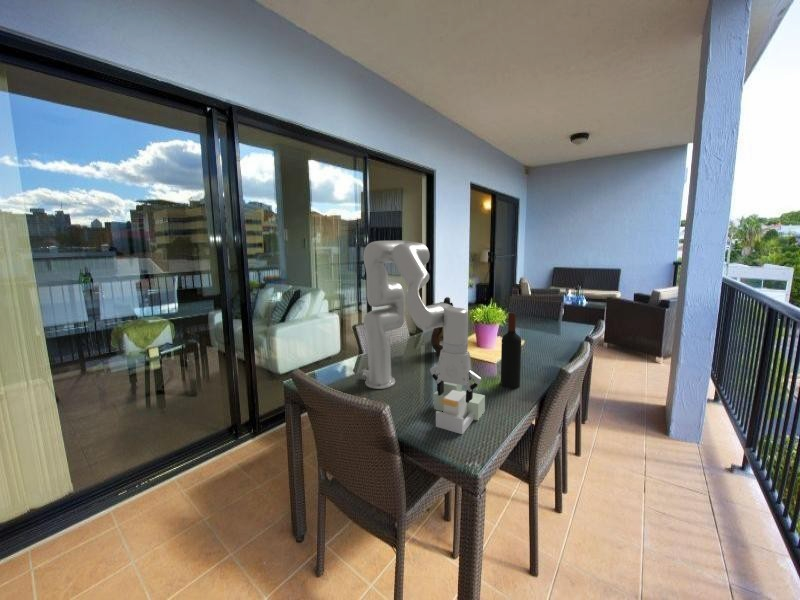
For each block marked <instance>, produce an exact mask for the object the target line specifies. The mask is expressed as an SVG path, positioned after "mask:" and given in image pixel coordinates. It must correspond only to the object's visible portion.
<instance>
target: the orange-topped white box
mask: <svg viewBox="0 0 800 600" xmlns="http://www.w3.org/2000/svg"><path fill="white" fill-rule="evenodd" d="M441 404H444V413H447V414H451V415H455V416H458V417H462V418H464V420H465V418H466V417H467V403H466V393H465V392H460V391H456V390H452V391H451V392H450V393H449V394H448V395H447V396H445V397H444V398H443V399H442V400H441Z"/></svg>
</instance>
